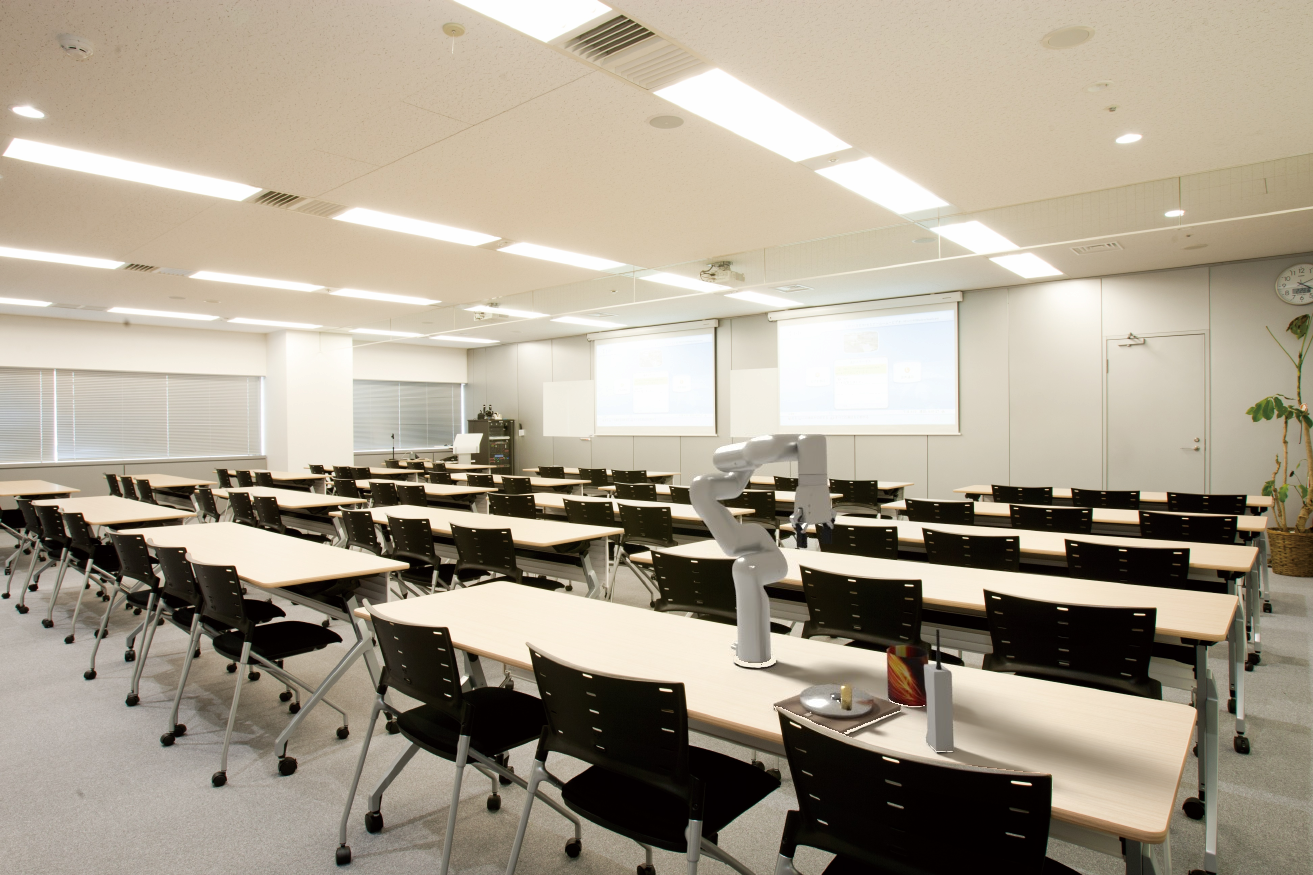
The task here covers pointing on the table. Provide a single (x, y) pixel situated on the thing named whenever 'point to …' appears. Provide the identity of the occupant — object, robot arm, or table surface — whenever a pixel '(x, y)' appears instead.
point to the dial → (836, 701)
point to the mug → (906, 675)
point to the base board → (840, 724)
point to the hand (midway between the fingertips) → (814, 545)
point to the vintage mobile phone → (939, 704)
